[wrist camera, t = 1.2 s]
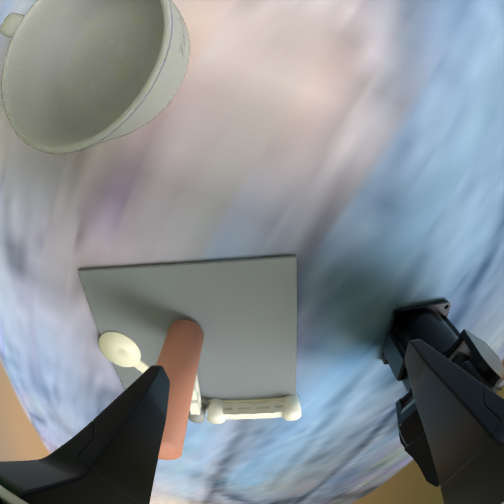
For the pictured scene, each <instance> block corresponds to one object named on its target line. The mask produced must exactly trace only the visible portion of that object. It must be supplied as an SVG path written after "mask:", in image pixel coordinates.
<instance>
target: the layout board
mask: <svg viewBox="0 0 504 504" xmlns="http://www.w3.org/2000/svg"><path fill="white" fill-rule="evenodd" d="M78 274H79V277H80V280H81V283H82V286H83V289H84V292H85V295H86V298H87V301H88V304H89V307H90V309H91V312H92V315H93V317H94V320H95V323H96V325H97V328H98V330H99V333H100V335H101V337H100V339H99V348H100V350H101V352H102V353H103V355H104V356H105V357H106V358H107V359H108V360H109V361H111V362H112V363H113V365H114V367H115V369H116V371H117V373H118V376H119V378H120V380H121V382H122V384H123V386H124V388H125V390H126V389H127V388H128V387H129V386H130V385H131V384H132V383H133V382H134V381H135V380H136V379H138V378H139V377H140V376H141V375H142V374H143V373H144V372H145V371H146V370H147V369H148V368H149V367H150V366H152V365H156V363H157V360H158V357H159V354H160V352H161V349H162V346H163V343H164V341H165V338H166V335H167V333H168V330H169V327H170V326H171V324H172V323H173V322H175V321H177V320H189V321H192V322H194V323H196V324H197V325H199V326H200V327H201V329H202V330H203V333H204V340H203V345H202V350H201V355H200V360H199V365H198V370H197V377H198V383H199V389H200V395H201V401H202V404H203V405H205V407H206V411H205V413H207V412H208V406H209V402H210V400H212V399H222V400H223V402H224V403H232V402H238V403H251V402H269V401H274V400H275V401H282V400H283V399H284V397H285V396H288V395H295V392H296V357H297V257H296V255H293V256H279V257H265V258H250V259H236V260H221V261H206V262H191V263H176V264H160V265H144V266H128V267H112V268H96V269H80V270H79V271H78Z"/></svg>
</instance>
